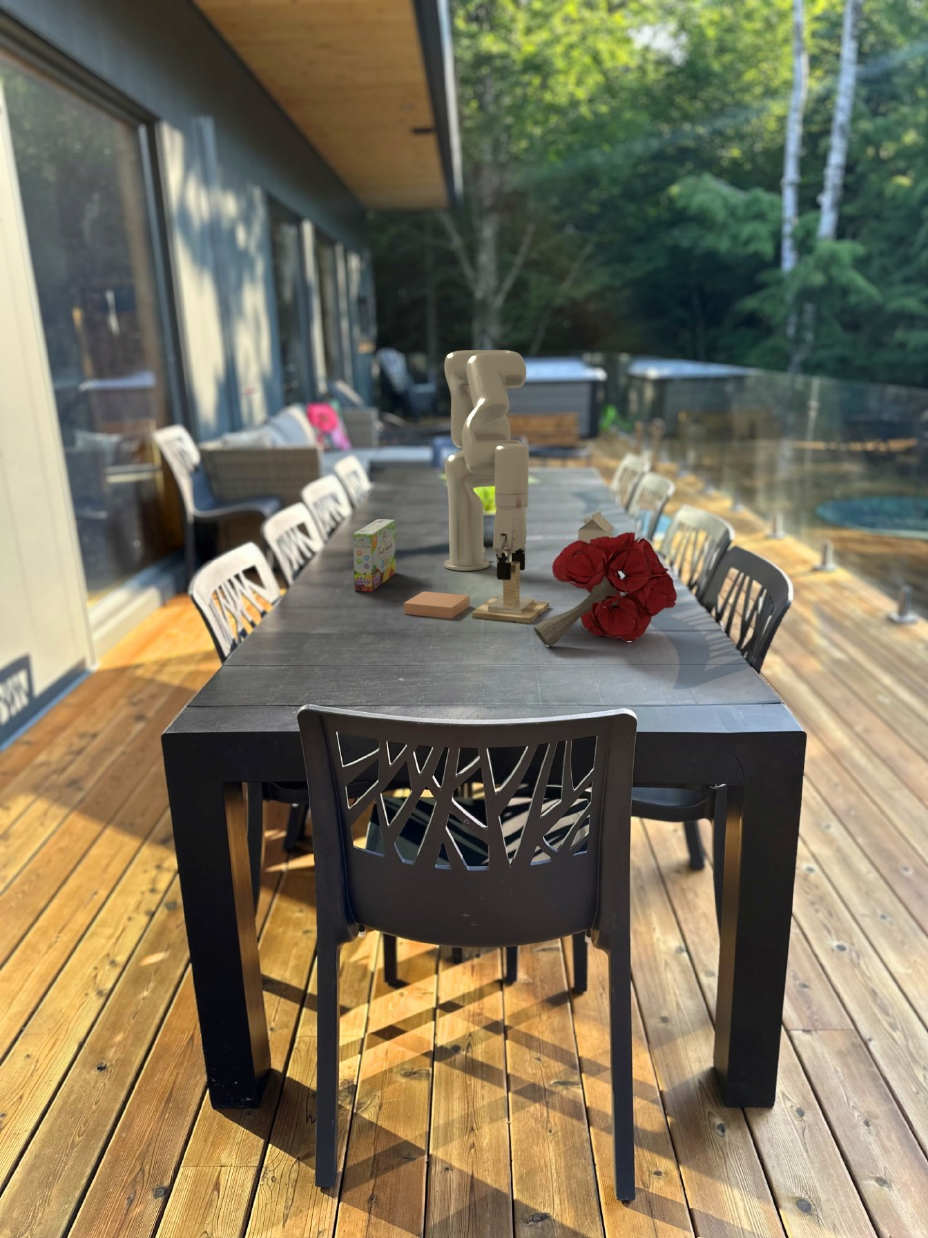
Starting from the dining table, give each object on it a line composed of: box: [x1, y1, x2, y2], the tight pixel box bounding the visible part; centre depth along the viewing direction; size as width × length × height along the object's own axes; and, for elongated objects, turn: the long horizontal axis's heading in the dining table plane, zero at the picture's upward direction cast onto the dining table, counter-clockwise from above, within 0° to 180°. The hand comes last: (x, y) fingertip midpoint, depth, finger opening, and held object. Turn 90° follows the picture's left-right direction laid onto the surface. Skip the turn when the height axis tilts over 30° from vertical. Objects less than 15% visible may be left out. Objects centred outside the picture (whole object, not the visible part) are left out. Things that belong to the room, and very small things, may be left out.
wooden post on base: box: [488, 560, 535, 615], centre depth 208 cm, size 10×8×10 cm
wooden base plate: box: [471, 596, 550, 624], centre depth 210 cm, size 14×14×1 cm
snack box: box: [352, 518, 397, 593], centre depth 237 cm, size 21×6×15 cm, turn 168°
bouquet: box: [533, 531, 678, 648], centre depth 185 cm, size 22×24×30 cm
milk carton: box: [577, 509, 614, 543], centre depth 229 cm, size 7×7×19 cm
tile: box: [403, 591, 470, 619], centre depth 212 cm, size 3×12×11 cm
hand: (511, 574), depth 207 cm, fingers open, 9 cm apart
